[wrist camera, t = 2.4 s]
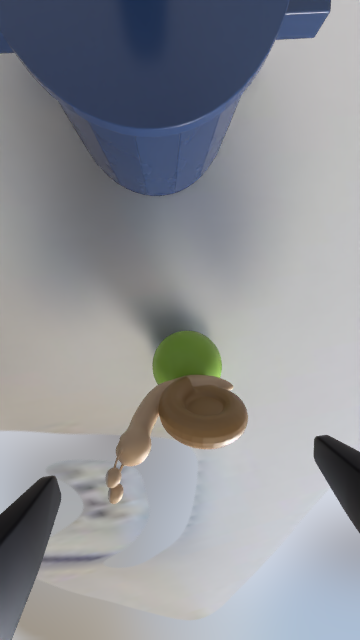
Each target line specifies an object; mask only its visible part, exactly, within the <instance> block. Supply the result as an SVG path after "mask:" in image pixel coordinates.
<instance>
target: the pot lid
mask: <svg viewBox="0 0 360 640" xmlns="http://www.w3.org/2000/svg"><path fill="white" fill-rule="evenodd" d="M289 1H290V0H0V31H1V33H2V34H3V36H4V37H5V39H6V40H7V42H8V44H9V45H10V47H11V48H12V50H13V51H14V53H15V54H16V56H17V57H18V58H19V60H20V61H21V62H22V63H23V65H24V66H25V67H26V69H27V70H28V71H29V72H30V74H31V75H32V76H33V77H34V78H35V79H36V80H37V81H38V83H39V84H40V85H41V86H42V87H43V88H44V89H45V90H46V91H47V92H48V93H49V94H50V95H52V96H53V97H54V98H55V99H56V100H58V101H59V102H60V103H61V104H63V105H64V106H65V107H66V108H67V109H69V110H71V111H72V112H74V113H75V114H77V115H79V116H80V117H82V118H83V119H85V120H87V121H89V122H91V123H93V124H95V125H97V126H100V127H102V128H104V129H107V130H110V131H113V132H117V133H120V134H124V135H130V136H137V137H163V136H170V135H176V134H179V133H183V132H186V131H189V130H192V129H194V128H197V127H199V126H201V125H203V124H205V123H207V122H209V121H210V120H212V119H213V118H215V117H216V116H218V115H219V114H220V113H222V112H223V111H225V110H226V109H227V108H228V107H229V106H230V105H231V104H232V103H233V102H235V101H236V100H237V99H238V98H239V97H240V96H241V94H242V93H243V92H244V91H245V90H246V88H247V87H248V86H249V85H250V84H251V83H252V81H253V80H254V78H255V77H256V75H257V73H258V72H259V70H260V69H261V67H262V66H263V64H264V62H265V60H266V58H267V56H268V54H269V52H270V50H271V48H272V46H273V44H274V42H275V40H276V37H277V35H278V33H279V30H280V28H281V25H282V22H283V20H284V17H285V14H286V12H287V9H288V5H289Z"/></svg>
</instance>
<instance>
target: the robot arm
mask: <svg viewBox="0 0 360 640" xmlns="http://www.w3.org/2000/svg"><path fill="white" fill-rule="evenodd" d="M314 459H315V462H316V464H317V465H318V467H319V469H320V470H321V472H322V474H323V475H324V477H325V479H326V480H327V482H328V484H329V485H330V487H331V489H332V490H333V492H334V494H335V495H336V497H337V499H338V500H339V502H340V504H341V505H342V507H343V509H344V510H345V512H346V514H347V515H348V516H349V518H350V520H351V521H352V523H353V524H354V526H355V527H356V529H357V530H358V531H359V533H360V452H359V451H357V450H355V449H353V448H351V447H349V446H348V445H346V444H344V443H342V442H340V441H338V440H336V439H334V438H332V437H331V436H328V435H322V436H316V437H315V439H314ZM60 502H61V492H60V489H59V485H58V482H57V479H56V477H55V476H47V477H42V478H40V479H39V480H38V481H37V482H36V483H35V484H34V485H32V486H31V487H30V488H29V489H28V490H27V491H26V492H25V493H23V495H21V496H20V497H19V498H18V499H17V500H16V501H15V502H14V503H12V504H11V505H10V506H9V507H8V508H7V509H6V510H5V511H4V512H3V513H1V514H0V640H12V637H13V635H14V632H15V630H16V627H17V625H18V622H19V619H20V617H21V614H22V612H23V609H24V607H25V604H26V602H27V599H28V597H29V594H30V592H31V589H32V587H33V584H34V581H35V579H36V576H37V574H38V571H39V568H40V565H41V562H42V559H43V556H44V553H45V550H46V547H47V543H48V540H49V537H50V534H51V531H52V527H53V525H54V521H55V518H56V515H57V512H58V508H59V505H60Z"/></svg>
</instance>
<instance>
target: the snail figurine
mask: <svg viewBox="0 0 360 640" xmlns="http://www.w3.org/2000/svg"><path fill="white" fill-rule="evenodd" d="M221 370H222V363H221V357H220V354H219V351H218V349H217V348H216V346H215V345H214V343H213V342H212V341H211V340H210V339H209V338H207V337H206V336H204V335H203V334H200V333H198V332H194V331H179V332H176V333H173V334H171V335H169V336H168V337H166V338H165V339H164V340H163V341H162V342H161V343H160V345H159V346H158V348H157V349H156V352H155V354H154V358H153V374H154V377H155V380H156V382H157V384H158V385H157V386H156V387H155V388H154V389H152V390H151V391H150V392H149V393H148V394H147V396H146V397H145V398H144V399H143V401H142V402H141V404H140V405H139V407H138V409H137V410H136V412H135V414H134V416H133V418H132V420H131V423H130V425H129V427H128V429H127V431H126V432H125V433H123V435H122V436H121V437H120V441H119V443H118V445H117V447H116V455H117V458H116V461H115V464H114V468H111V469H110V470H109V471H108V472H107V474H106V485H107V487H109V491H108V499H109V502H110V503H112V504H115V503H118V502H119V501H120V500H121V498H122V496H123V487H122V485H121V484H119V482H120V480H121V470H122V468H123V466H124V465H126V466H136V465H138V464H140V463H142V462H143V461H144V460H145V459H146V458H147V456H148V455H149V452H150V450H151V439H150V434H151V431H152V429H153V427H154V425H155V422H156V420H157V418H158V416H160V420H161V422H162V425H163V427H164V428H165V430H166V431H167V432H168V433H169V434H170V435H171V436H172V437H173V438H175V439H176V440H177V441H179V442H181V443H183V444H184V445H187V446H190V447H193V448H199V449H216V448H221V447H224V446H227V445H229V444H231V443H233V442H234V441H236V440H237V439H238V438H239V437H240V436H241V435H242V434H243V433H244V431H245V428H246V426H247V421H248V415H247V410H246V407H245V405H244V403H243V402H242V400H241V399H240V398H239V397H238V396H237V395H235V394H234V393H232V392H231V391H230V390H232V389H233V385H232V384H231V383H229V382H228V381H226V380H223V379H221V378H220V376H221ZM118 460H119V461H120V462H121V463H122V465H121V467H120V470H119V469H118V468H116V464H117V461H118Z"/></svg>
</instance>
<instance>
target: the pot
mask: <svg viewBox="0 0 360 640" xmlns="http://www.w3.org/2000/svg"><path fill="white" fill-rule="evenodd" d="M330 9H331V0H290V1H289V5H288V9H287V12H286V14H285V17H284V20H283V22H282V25H281V28H280V30H279V33H278V35H277V37H276V40H281V39H300V38H314V37H315V35H316V34H317V32H318V31H319V29H320V27H321V26H322V24H323V22H324V21H325V19H326V18H327V16H328V14H329V13H330ZM1 53H14V51H13V50H12V48H11V47H10V45H9V44H8V42H7V40H6V39H5V37H4V36H3V34H2V33H1V31H0V54H1ZM240 97H241V96H240ZM240 97H239V98H238V99H237V100H236V101H235V102H233V103H232V104H231V105H230V106H229V107H228V108H227V109H226V110H225V111H223V112H222V113H220V114H219V115H218V116H216V117H215V118H213V119H212V120H210V121H209V122H207V123H205V124H203V125H201V126H199V127H197V128H194V129H192V130H189V131H186V132H183V133H179V134H176V135H170V136H163V137H137V136H130V135H124V134H120V133H117V132H113V131H110V130H107V129H104V128H102V127H100V126H97V125H95V124H93V123H91V122H89V121H87V120H85V119H83V118H82V117H80V116H79V115H77V114H75V113H74V112H72V111H71V110H69V109H67V108H66V107H65V106H64V105H63V104H61V103H60V102H59V101H58V102H59V104H60V105H61V107H62V109H63V110H64V112H65V113H66V115H67V117H68V118H69V120H70V122H71V123H72V125H73V126H74V128H75V130H76V131H77V133H78V135H79V136H80V138H81V140H82V141H83V143H84V144H85V146H86V148H87V149H88V151H89V153H90V154H91V156H92V158H93V159H94V161H95V162H96V163H97V165H98V166H99V167H101V169H102V170H103V171H104V172H105V173H106V174H107V175H108V176H109V177H110V178H111V179H113V180H114V181H115V182H117V183H118V184H120V185H121V186H123V187H125V188H126V189H129V190H131V191H133V192H136V193H140V194H143V195H151V196H162V195H169V194H172V193H176V192H179V191H181V190H183V189H185V188H187V187H188V186H190V185H191V184H193V183H194V182H195V181H197V180H198V179H199V178H200V177H201V176H202V175H203V174H204V172H205V171H206V170H207V169H208V167H209V166H210V164H211V163H212V161H213V159H214V158H215V157H216V155H217V153H218V151H219V148H220V146H221V144H222V141H223V139H224V136H225V134H226V131H227V129H228V126H229V124H230V121H231V119H232V117H233V114H234V112H235V109H236V107H237V104H238V102H239V99H240Z"/></svg>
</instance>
